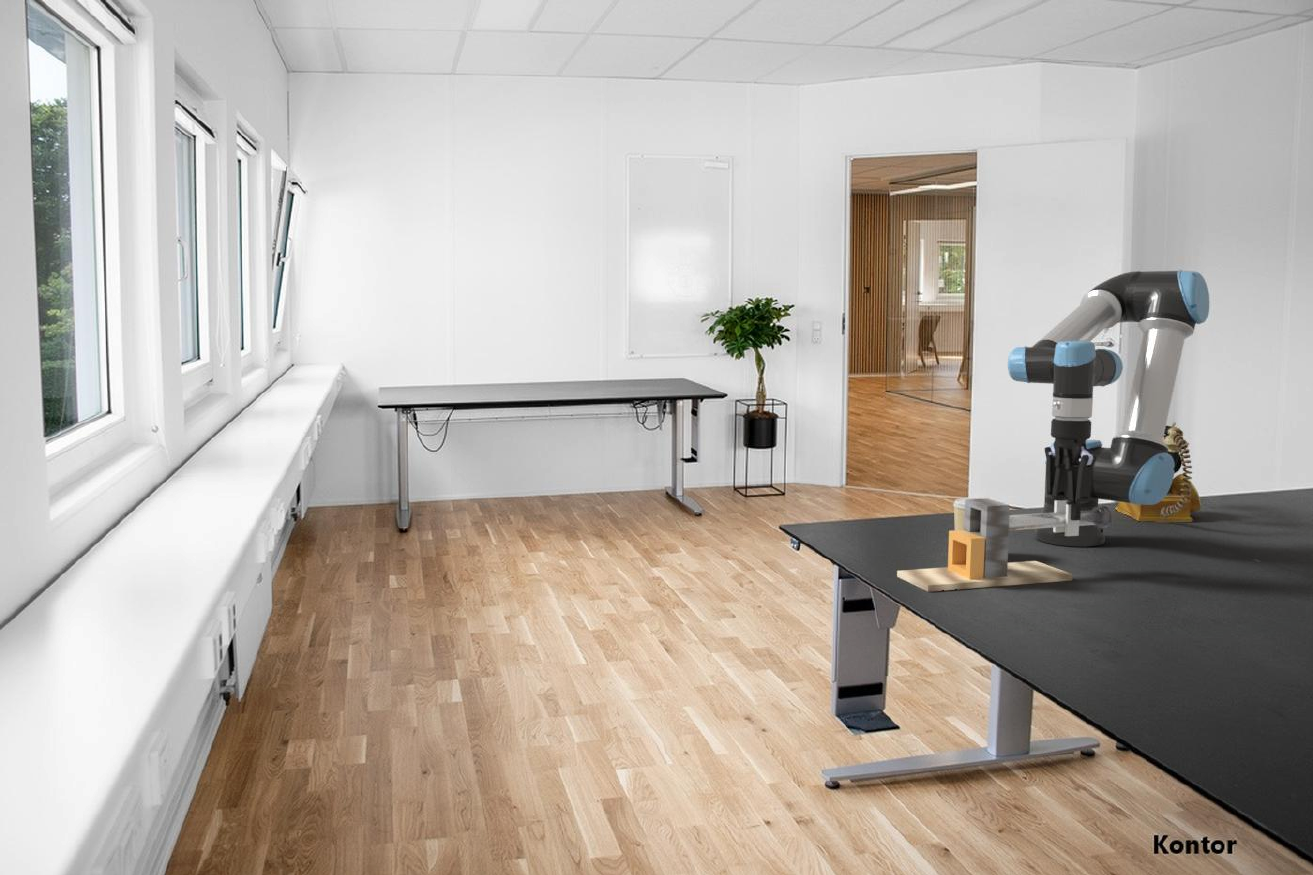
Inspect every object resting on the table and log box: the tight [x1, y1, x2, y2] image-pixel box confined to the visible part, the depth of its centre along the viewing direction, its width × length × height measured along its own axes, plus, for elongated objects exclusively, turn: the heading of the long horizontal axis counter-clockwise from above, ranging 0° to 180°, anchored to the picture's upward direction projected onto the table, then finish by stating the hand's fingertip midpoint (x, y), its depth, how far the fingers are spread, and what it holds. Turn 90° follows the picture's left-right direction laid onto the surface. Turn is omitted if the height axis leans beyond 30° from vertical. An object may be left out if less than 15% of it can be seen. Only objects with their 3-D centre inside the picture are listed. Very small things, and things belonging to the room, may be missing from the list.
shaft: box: [1009, 505, 1113, 531], centre depth 223 cm, size 28×4×4 cm, turn 106°
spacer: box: [947, 529, 985, 579], centre depth 219 cm, size 3×8×8 cm, turn 16°
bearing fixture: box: [896, 497, 1073, 593], centre depth 220 cm, size 32×12×15 cm, turn 106°
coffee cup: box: [953, 497, 982, 530], centre depth 240 cm, size 9×9×12 cm
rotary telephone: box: [1115, 421, 1202, 521], centre depth 279 cm, size 35×18×25 cm, turn 178°
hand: (1065, 533), depth 225 cm, fingers closed on shaft, 3 cm apart
